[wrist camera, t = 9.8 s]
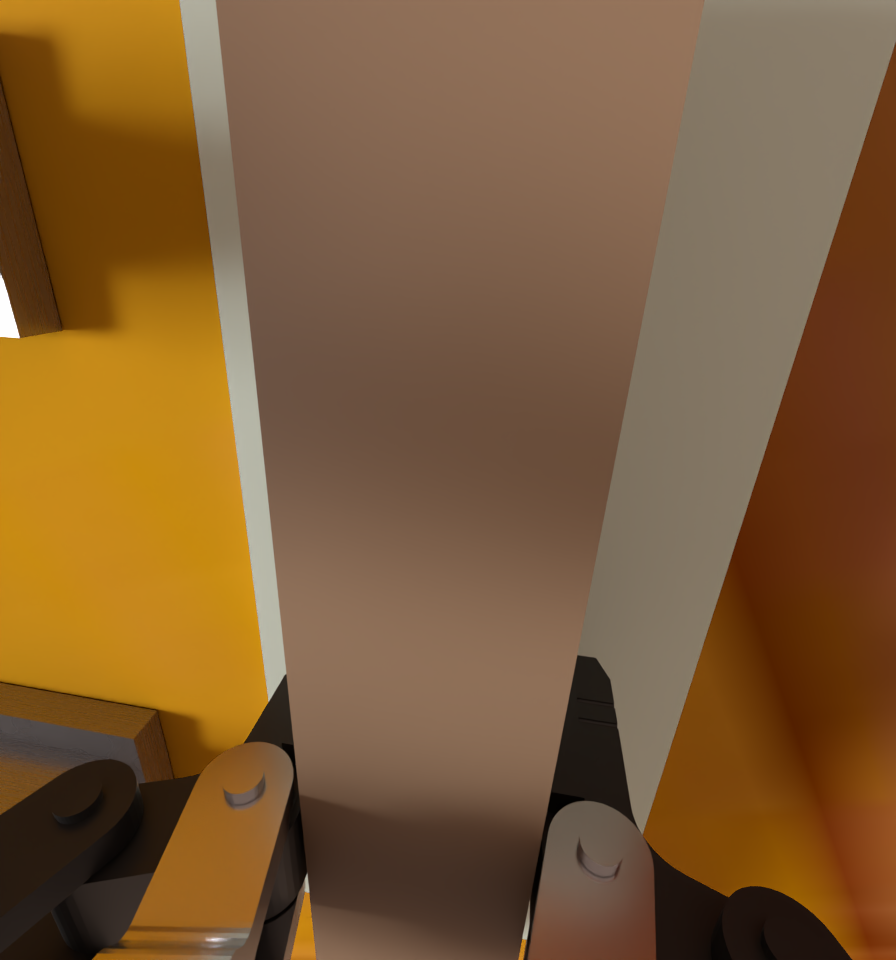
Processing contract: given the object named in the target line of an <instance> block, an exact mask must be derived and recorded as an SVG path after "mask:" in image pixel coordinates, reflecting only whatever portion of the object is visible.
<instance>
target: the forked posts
mask: <svg viewBox="0 0 896 960" xmlns="http://www.w3.org/2000/svg"><path fill="white" fill-rule="evenodd" d="M57 331H62V327H61V323H60V319H59V315H58V311H57V307H56V303H55V299H54V295H53V291H52V287H51V283H50V279H49V275H48V271H47V267H46V263H45V259H44V255H43V251H42V247H41V243H40V239H39V235H38V231H37V227H36V223H35V219H34V215H33V211H32V207H31V203H30V199H29V195H28V191H27V187H26V183H25V179H24V175H23V171H22V167H21V163H20V159H19V155H18V151H17V147H16V143H15V139H14V135H13V131H12V127H11V123H10V119H9V115H8V111H7V107H6V103H5V99H4V95H3V91H2V87H1V83H0V336H2V337H14V338H23V337H28V336H34V335H40V334H46V333H51V332H57ZM103 759H112V760H118V761H121V762H123V763H126V764H127V765H128V766H130V767H131V768H132V770H133V771H134V773H135V776H136V778H137V782H138V784H140V783H147V782H154V781H162V780H169V779H174V777H173V773H172V769H171V765H170V761H169V757H168V753H167V749H166V745H165V741H164V737H163V733H162V729H161V725H160V721H159V717H158V713H157V711H156V710H150V709H145V708H139V707H134V706H128V705H122V704H117V703H111V702H105V701H100V700H94V699H89V698H83V697H77V696H72V695H66V694H60V693H55V692H49V691H44V690H38V689H32V688H27V687H21V686H15V685H10V684H4V683H0V815H1V814H2V813H4V812H5V811H7V810H8V809H10V808H11V807H13V806H14V805H16V804H17V803H19V802H20V801H22V800H23V799H25V798H26V797H28V796H29V795H31V794H32V793H34V792H35V791H37V790H38V789H39V788H41V787H42V786H44V785H45V784H47V783H48V782H50V781H51V780H53V779H54V778H56V777H57V776H59V775H61V774H62V773H64V772H66V771H68V770H70V769H72V768H74V767H76V766H79V765H81V764H84V763H87V762H91V761H95V760H103Z"/></svg>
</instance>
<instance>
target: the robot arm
mask: <svg viewBox="0 0 896 960" xmlns="http://www.w3.org/2000/svg"><path fill="white" fill-rule="evenodd" d="M617 724H618V723H617V717H616V711H615V708H614V698H613V692H612V686H611V680H610V678H609V677H608V675H607V674H606V672H605V671H604V669H603V668H602V666H601V665H600V663H599V662H598V660H597V659H596V658H594V657H587V656H580V655H577V659H576V664H575V670H574V675H573V680H572V685H571V690H570V695H569V700H568V706H567V711H566V716H565V721H564V726H563V731H562V737H561V742H560V747H559V752H558V757H557V762H556V767H555V773H554V778H553V783H552V788H551V793H550V798H549V803H548V809H547V814H546V819H545V824H544V829H543V834H542V839H541V845H540V850H539V855H538V860H537V865H536V870H535V875H534V881H533V886H532V891H531V896H530V925H529V930H528V935H527V940H526V946H525V952H524V958H523V960H852V959H851V958H850V956H849V955H848V954H847V953H846V951H845V950H844V949H843V947H842V946H841V945H840V943H839V942H838V941H837V940H836V938H835V937H834V936H833V935H832V933H831V932H830V931H829V930H828V929H827V927H826V926H825V925H824V924H823V923H822V922H821V921H820V920H819V919H818V918H817V917H816V916H815V915H814V914H813V913H811V912H810V911H809V910H808V909H807V908H805V907H804V906H803V905H801V904H800V903H798V902H797V901H795V900H794V899H792V898H791V897H789V896H787V895H785V894H783V893H781V892H778V891H775V890H772V889H770V888H765V887H758V886H750V887H745V888H741V889H739V890H737V891H735V892H734V893H733V894H732V895H731V896H730V897H729V898H728V897H726V896H724V895H723V894H721V893H719V892H717V891H715V890H713V889H711V888H709V887H707V886H705V885H704V884H702V883H700V882H698V881H696V880H694V879H692V878H690V877H688V876H686V875H685V874H683V873H681V872H680V871H678V870H676V869H675V868H673V867H672V866H671V865H669V864H668V863H667V862H665V861H664V860H663V859H662V858H661V857H660V856H659V855H658V854H657V853H656V852H655V851H654V850H653V849H652V847H651V846H650V845H649V844H648V843H647V841H646V840H645V838H644V837H643V835H642V834H641V832H640V830H639V828H638V826H637V824H636V822H635V819H634V816H633V813H632V808H631V803H630V797H629V791H628V784H627V778H626V772H625V766H624V760H623V754H622V748H621V741H620V735H619V729H617ZM306 875H307V865H306V855H305V846H304V836H303V827H302V817H301V808H300V798H299V789H298V779H297V770H296V760H295V751H294V741H293V732H292V722H291V713H290V703H289V694H288V684H287V675H286V674H285V675H284V677H283V679H282V680H281V682H280V684H279V686H278V687H277V689H276V691H275V692H274V694H273V696H272V697H271V699H270V701H269V702H268V704H267V706H266V707H265V709H264V711H263V713H262V714H261V716H260V718H259V719H258V721H257V723H256V724H255V726H254V728H253V729H252V731H251V733H250V735H249V736H248V738H247V739H246V741H245V742H244V744H241V745H238V746H235V747H233V748H231V749H228V750H227V751H225V752H223V753H222V754H220V755H219V756H217V757H216V758H215V759H214V760H212V761H211V762H210V763H209V764H208V765H207V766H206V768H205V769H204V770H203V772H202V773H200V774H197V775H194V776H189V777H184V778H177V779H169V780H162V781H154V782H147V783H140V784H138V782H137V778H136V776H135V773H134V771H133V770H132V768H131V767H130V766H128V765H127V764H126V763H123V762H121V761H118V760H112V759H103V760H95V761H91V762H87V763H84V764H81V765H79V766H76V767H74V768H72V769H70V770H68V771H66V772H64V773H62V774H61V775H59V776H57V777H56V778H54V779H53V780H51V781H50V782H48V783H47V784H45V785H44V786H42V787H41V788H39V789H38V790H37V791H35V792H34V793H32V794H31V795H29V796H28V797H26V798H25V799H23V800H22V801H20V802H19V803H17V804H16V805H14V806H13V807H11V808H10V809H8V810H7V811H5V812H4V813H2V814H1V815H0V960H290V959H291V954H292V949H293V945H294V940H295V935H296V931H297V926H298V921H299V917H300V912H301V907H302V903H303V898H304V893H305V878H306Z"/></svg>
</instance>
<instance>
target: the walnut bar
mask: <svg viewBox="0 0 896 960" xmlns="http://www.w3.org/2000/svg"><path fill="white" fill-rule="evenodd" d="M704 1H705V0H216V9H217V18H218V28H219V37H220V47H221V56H222V66H223V75H224V85H225V94H226V104H227V113H228V123H229V132H230V142H231V151H232V161H233V170H234V180H235V189H236V199H237V208H238V218H239V228H240V237H241V247H242V256H243V266H244V275H245V285H246V294H247V304H248V313H249V323H250V332H251V342H252V351H253V361H254V370H255V380H256V389H257V399H258V408H259V418H260V427H261V437H262V446H263V456H264V465H265V475H266V484H267V494H268V503H269V513H270V522H271V532H272V541H273V551H274V560H275V570H276V579H277V589H278V598H279V608H280V617H281V627H282V636H283V646H284V656H285V665H286V675H287V684H288V694H289V703H290V713H291V722H292V732H293V741H294V751H295V760H296V770H297V779H298V789H299V798H300V808H301V817H302V827H303V836H304V846H305V855H306V865H307V874H308V884H309V893H310V903H311V912H312V922H313V931H314V941H315V950H316V960H518V958H519V953H520V948H521V942H522V937H523V932H524V927H525V922H526V917H527V911H528V906H529V901H530V896H531V891H532V886H533V881H534V875H535V870H536V865H537V860H538V855H539V850H540V845H541V839H542V834H543V829H544V824H545V819H546V814H547V809H548V803H549V798H550V793H551V788H552V783H553V778H554V773H555V767H556V762H557V757H558V752H559V747H560V742H561V737H562V731H563V726H564V721H565V716H566V711H567V706H568V700H569V695H570V690H571V685H572V680H573V675H574V670H575V664H576V659H577V654H578V649H579V644H580V639H581V634H582V628H583V623H584V618H585V613H586V608H587V603H588V598H589V592H590V587H591V582H592V577H593V572H594V567H595V562H596V556H597V551H598V546H599V541H600V536H601V531H602V526H603V520H604V515H605V510H606V505H607V500H608V495H609V489H610V484H611V479H612V474H613V469H614V464H615V459H616V453H617V448H618V443H619V438H620V433H621V428H622V423H623V417H624V412H625V407H626V402H627V397H628V392H629V387H630V381H631V376H632V371H633V366H634V361H635V356H636V351H637V345H638V340H639V335H640V330H641V325H642V320H643V314H644V309H645V304H646V299H647V294H648V289H649V284H650V278H651V273H652V268H653V263H654V258H655V253H656V248H657V242H658V237H659V232H660V227H661V222H662V217H663V212H664V206H665V201H666V196H667V191H668V186H669V181H670V176H671V170H672V165H673V160H674V155H675V150H676V145H677V140H678V134H679V129H680V124H681V119H682V114H683V109H684V103H685V98H686V93H687V88H688V83H689V78H690V73H691V67H692V62H693V57H694V52H695V47H696V42H697V37H698V31H699V26H700V21H701V16H702V11H703V6H704Z"/></svg>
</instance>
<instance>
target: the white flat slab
mask: <svg viewBox="0 0 896 960" xmlns="http://www.w3.org/2000/svg"><path fill="white" fill-rule="evenodd" d="M180 8H181V16H182V24H183V32H184V40H185V47H186V55H187V63H188V71H189V79H190V87H191V95H192V103H193V110H194V118H195V126H196V134H197V142H198V150H199V158H200V165H201V173H202V181H203V189H204V197H205V205H206V213H207V221H208V228H209V236H210V244H211V252H212V260H213V268H214V276H215V284H216V291H217V299H218V307H219V315H220V323H221V331H222V339H223V346H224V354H225V362H226V370H227V378H228V386H229V394H230V402H231V409H232V417H233V425H234V433H235V441H236V449H237V457H238V465H239V472H240V480H241V488H242V496H243V504H244V512H245V520H246V527H247V535H248V543H249V551H250V559H251V567H252V575H253V583H254V590H255V598H256V606H257V614H258V622H259V630H260V638H261V646H262V653H263V661H264V669H265V677H266V685H267V693H268V701H270V699H271V697H272V696H273V694H274V692H275V691H276V689H277V687H278V686H279V684H280V682H281V680H282V679H283V677H284V675H285V674H286V665H285V656H284V646H283V636H282V627H281V617H280V608H279V598H278V589H277V579H276V570H275V560H274V551H273V541H272V532H271V522H270V513H269V503H268V494H267V484H266V475H265V465H264V456H263V446H262V437H261V427H260V418H259V408H258V399H257V389H256V380H255V370H254V361H253V351H252V342H251V332H250V323H249V313H248V304H247V294H246V285H245V275H244V266H243V256H242V247H241V237H240V228H239V218H238V208H237V199H236V189H235V180H234V170H233V161H232V151H231V142H230V132H229V123H228V113H227V104H226V94H225V85H224V75H223V66H222V56H221V47H220V37H219V28H218V18H217V9H216V0H180ZM895 43H896V0H705V1H704V6H703V11H702V16H701V21H700V26H699V31H698V37H697V42H696V47H695V52H694V57H693V62H692V67H691V73H690V78H689V83H688V88H687V93H686V98H685V103H684V109H683V114H682V119H681V124H680V129H679V134H678V140H677V145H676V150H675V155H674V160H673V165H672V170H671V176H670V181H669V186H668V191H667V196H666V201H665V206H664V212H663V217H662V222H661V227H660V232H659V237H658V242H657V248H656V253H655V258H654V263H653V268H652V273H651V278H650V284H649V289H648V294H647V299H646V304H645V309H644V314H643V320H642V325H641V330H640V335H639V340H638V345H637V351H636V356H635V361H634V366H633V371H632V376H631V381H630V387H629V392H628V397H627V402H626V407H625V412H624V417H623V423H622V428H621V433H620V438H619V443H618V448H617V453H616V459H615V464H614V469H613V474H612V479H611V484H610V489H609V495H608V500H607V505H606V510H605V515H604V520H603V526H602V531H601V536H600V541H599V546H598V551H597V556H596V562H595V567H594V572H593V577H592V582H591V587H590V592H589V598H588V603H587V608H586V613H585V618H584V623H583V628H582V634H581V639H580V644H579V649H578V654H577V655H580V656H587V657H594V658H596V659H597V660H598V662H599V663H600V665H601V666H602V668H603V669H604V671H605V672H606V674H607V675H608V677H609V678H610V680H611V686H612V692H613V698H614V708H615V711H616V717H617V723H618V724H617V729H619V735H620V741H621V748H622V754H623V760H624V766H625V772H626V778H627V784H628V791H629V797H630V803H631V808H632V813H633V816H634V819H635V822H636V824H637V826H638V828H639V830H640V832H641V834H642V835H643V832H644V829H645V826H646V823H647V819H648V816H649V813H650V810H651V807H652V804H653V801H654V798H655V794H656V791H657V788H658V785H659V782H660V779H661V776H662V772H663V769H664V766H665V763H666V760H667V757H668V754H669V751H670V747H671V744H672V741H673V738H674V735H675V732H676V729H677V726H678V722H679V719H680V716H681V713H682V710H683V707H684V704H685V700H686V697H687V694H688V691H689V688H690V685H691V682H692V679H693V675H694V672H695V669H696V666H697V663H698V660H699V657H700V653H701V650H702V647H703V644H704V641H705V638H706V635H707V632H708V628H709V625H710V622H711V619H712V616H713V613H714V610H715V606H716V603H717V600H718V597H719V594H720V591H721V588H722V585H723V581H724V578H725V575H726V572H727V569H728V566H729V563H730V560H731V556H732V553H733V550H734V547H735V544H736V541H737V538H738V534H739V531H740V528H741V525H742V522H743V519H744V516H745V513H746V509H747V506H748V503H749V500H750V497H751V494H752V491H753V487H754V484H755V481H756V478H757V475H758V472H759V469H760V466H761V462H762V459H763V456H764V453H765V450H766V447H767V444H768V440H769V437H770V434H771V431H772V428H773V425H774V422H775V419H776V415H777V412H778V409H779V406H780V403H781V400H782V397H783V393H784V390H785V387H786V384H787V381H788V378H789V375H790V372H791V368H792V365H793V362H794V359H795V356H796V353H797V350H798V347H799V343H800V340H801V337H802V334H803V331H804V328H805V325H806V321H807V318H808V315H809V312H810V309H811V306H812V303H813V300H814V296H815V293H816V290H817V287H818V284H819V281H820V278H821V274H822V271H823V268H824V265H825V262H826V259H827V256H828V253H829V249H830V246H831V243H832V240H833V237H834V234H835V231H836V227H837V224H838V221H839V218H840V215H841V212H842V209H843V206H844V202H845V199H846V196H847V193H848V190H849V187H850V184H851V181H852V177H853V174H854V171H855V168H856V165H857V162H858V159H859V155H860V152H861V149H862V146H863V143H864V140H865V137H866V134H867V130H868V127H869V124H870V121H871V118H872V115H873V112H874V108H875V105H876V102H877V99H878V96H879V93H880V90H881V87H882V83H883V80H884V77H885V74H886V71H887V68H888V65H889V61H890V58H891V55H892V52H893V49H894V46H895ZM305 892H308V893H309V884H308V874H307V875H306V878H305ZM529 925H530V901H529V906H528V911H527V917H526V922H525V927H524V932H523V937H522V939H526V940H527V935H528V930H529Z"/></svg>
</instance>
